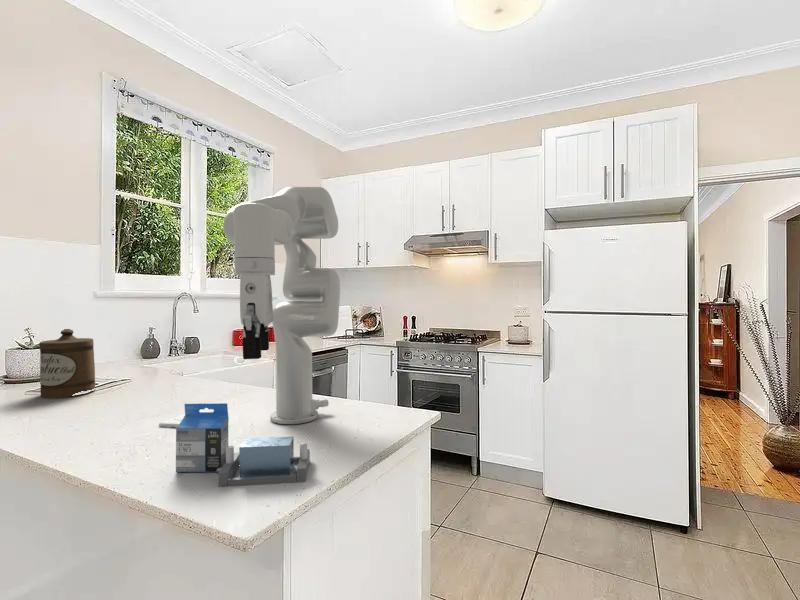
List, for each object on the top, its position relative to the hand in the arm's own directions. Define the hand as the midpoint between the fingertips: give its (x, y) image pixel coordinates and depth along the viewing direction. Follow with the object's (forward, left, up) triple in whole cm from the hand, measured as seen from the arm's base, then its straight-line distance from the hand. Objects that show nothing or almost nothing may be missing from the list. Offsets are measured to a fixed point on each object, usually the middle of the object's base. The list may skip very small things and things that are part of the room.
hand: (256, 354), depth 86 cm
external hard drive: (+3, -40, -23) cm, 46 cm away
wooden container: (+26, -101, -22) cm, 107 cm away
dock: (0, +6, -22) cm, 23 cm away
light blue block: (0, +6, -22) cm, 23 cm away
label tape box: (+9, -4, -22) cm, 24 cm away
